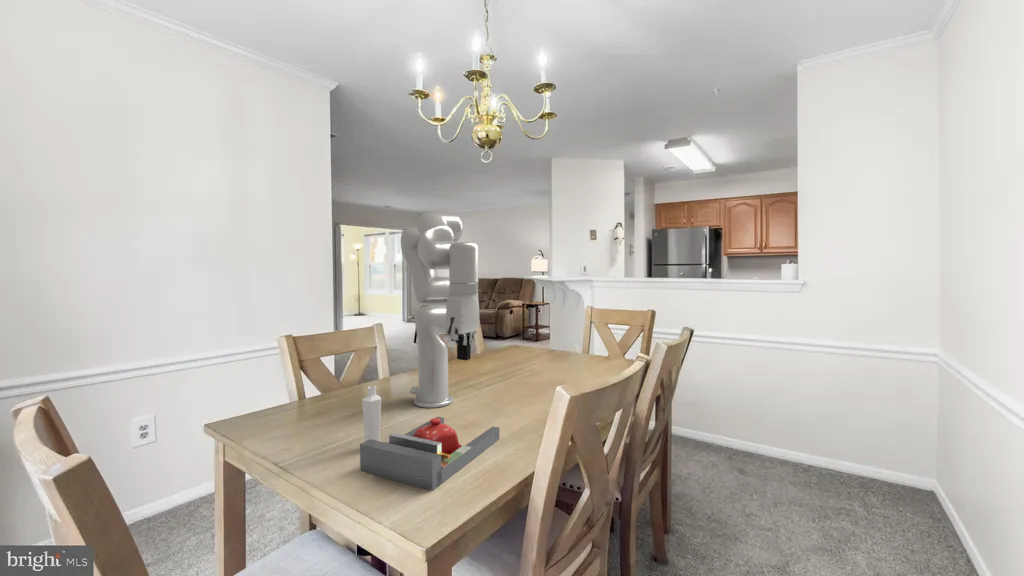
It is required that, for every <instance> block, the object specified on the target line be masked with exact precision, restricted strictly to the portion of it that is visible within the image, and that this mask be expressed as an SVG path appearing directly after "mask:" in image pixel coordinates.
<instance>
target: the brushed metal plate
mask: <svg viewBox="0 0 1024 576" xmlns="http://www.w3.org/2000/svg"><path fill="white" fill-rule="evenodd" d="M388 437H389V438H388V443H390V444H394V445H399V446H403V447H408V448H412V449H416V450H421V451H425V452H430V453H434V454H439V455H441V460H443V459H444V458H446V459H449V458H450V454H445V453H442V443H441V442H436V441H431V440H426V439H422V438H417V437H412V436H407V435H404V434H402V433H397V432H393V433H391V434H389V435H388ZM442 458H443V459H442Z"/></svg>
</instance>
